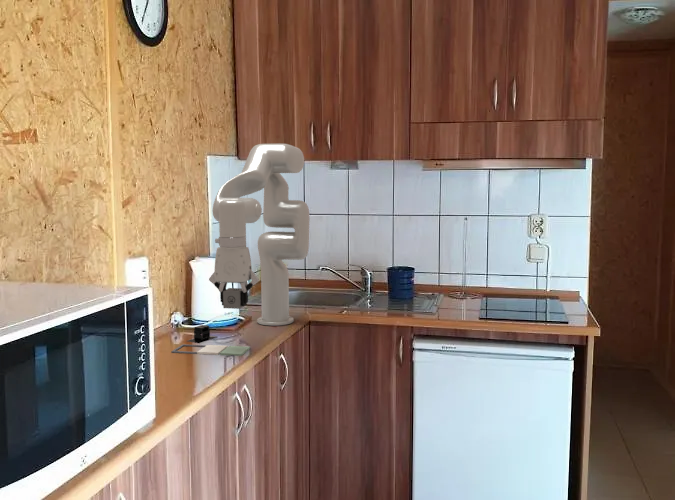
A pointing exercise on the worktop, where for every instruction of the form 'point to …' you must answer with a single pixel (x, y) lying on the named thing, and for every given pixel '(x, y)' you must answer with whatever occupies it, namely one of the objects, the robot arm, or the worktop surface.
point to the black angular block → (201, 334)
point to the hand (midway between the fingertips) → (234, 304)
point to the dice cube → (232, 298)
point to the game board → (216, 350)
